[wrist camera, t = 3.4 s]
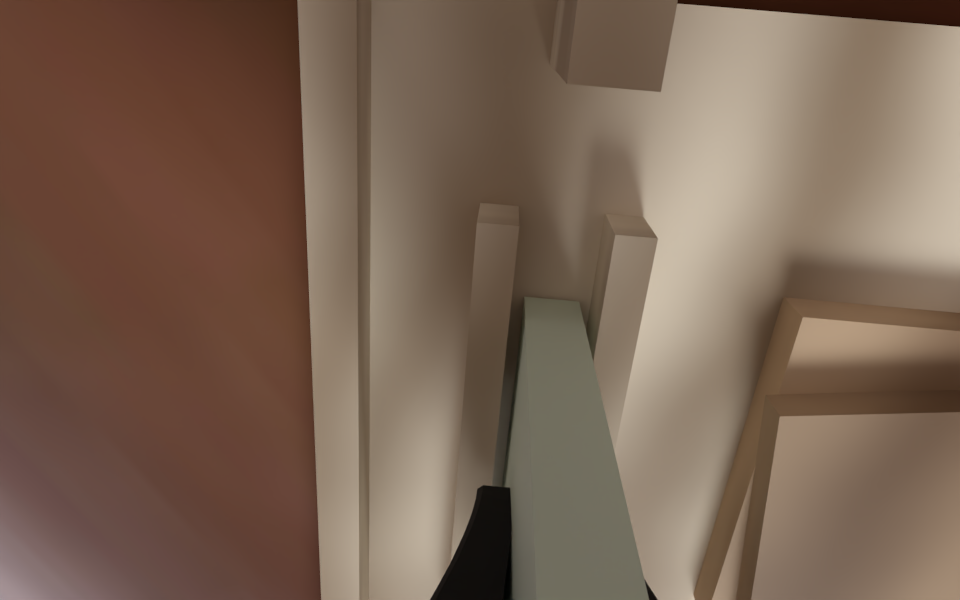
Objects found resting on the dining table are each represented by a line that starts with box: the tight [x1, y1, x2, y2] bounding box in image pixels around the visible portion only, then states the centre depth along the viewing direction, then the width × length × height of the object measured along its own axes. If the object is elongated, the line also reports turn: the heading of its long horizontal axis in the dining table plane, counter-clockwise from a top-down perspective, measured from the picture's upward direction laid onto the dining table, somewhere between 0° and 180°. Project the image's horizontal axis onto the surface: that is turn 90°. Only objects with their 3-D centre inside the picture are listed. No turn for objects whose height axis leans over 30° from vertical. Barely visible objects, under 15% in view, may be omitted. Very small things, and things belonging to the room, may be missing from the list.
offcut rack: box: [297, 0, 960, 600], centre depth 14 cm, size 18×20×5 cm
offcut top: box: [736, 390, 960, 600], centre depth 14 cm, size 5×7×1 cm
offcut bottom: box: [693, 297, 960, 600], centre depth 15 cm, size 6×9×1 cm, turn 176°
